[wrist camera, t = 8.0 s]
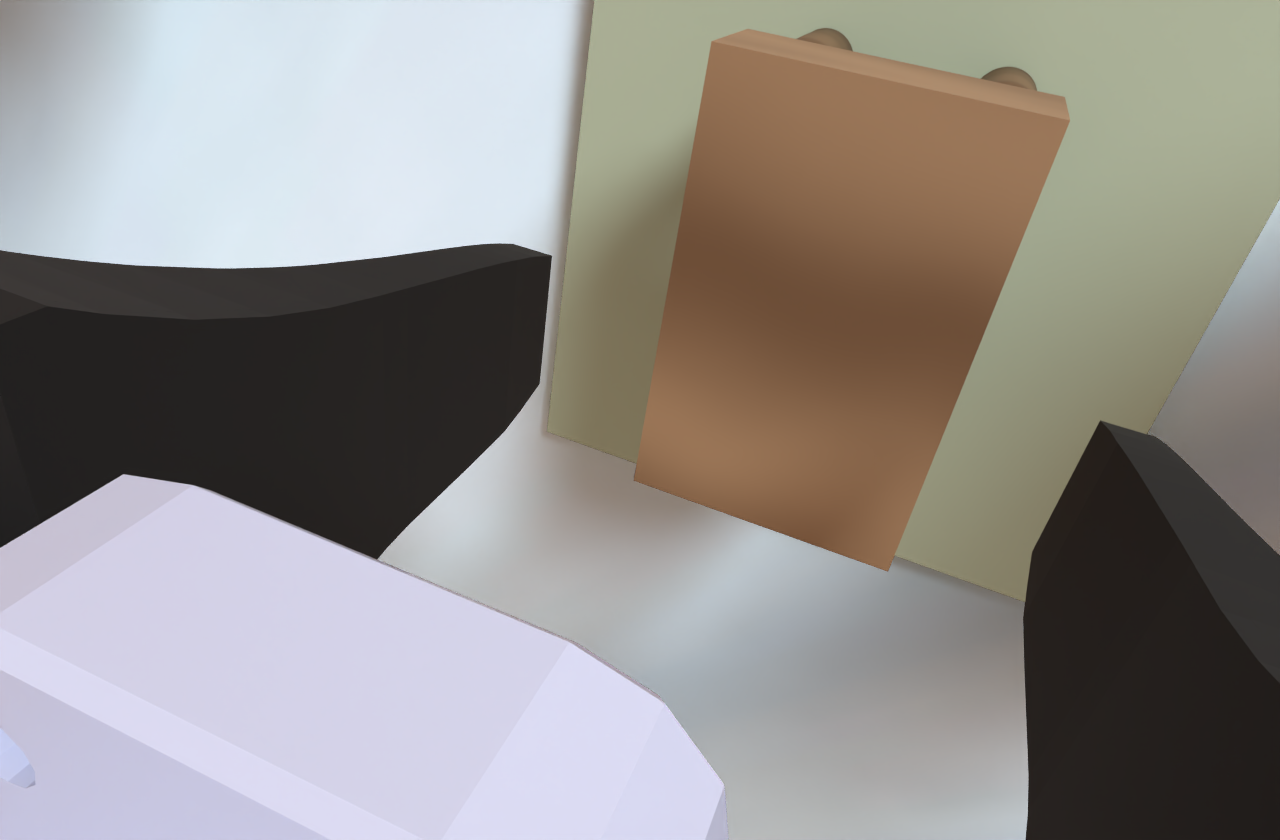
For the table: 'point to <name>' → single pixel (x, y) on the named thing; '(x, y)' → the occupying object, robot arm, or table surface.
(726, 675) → the table surface
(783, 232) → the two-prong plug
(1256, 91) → the mat
